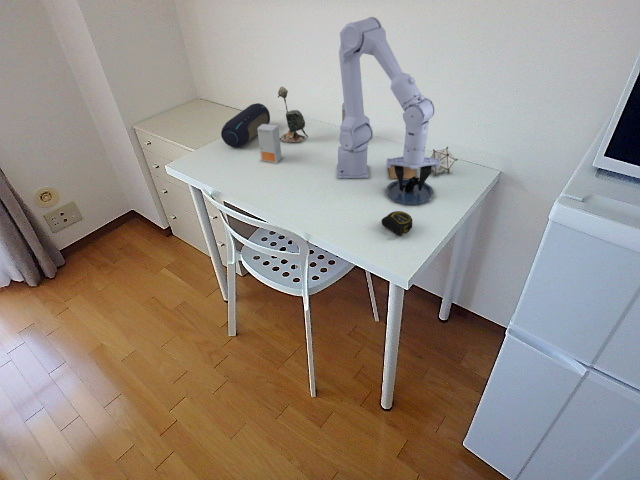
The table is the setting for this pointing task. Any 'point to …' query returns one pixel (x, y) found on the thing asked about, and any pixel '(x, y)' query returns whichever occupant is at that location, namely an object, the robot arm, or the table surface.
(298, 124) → the plant with pod
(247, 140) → the portable speaker
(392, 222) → the tape measure
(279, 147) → the cosmetic box
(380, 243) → the table surface
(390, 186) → the plate
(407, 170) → the cork coaster
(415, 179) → the wireless earbuds
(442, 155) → the game die
